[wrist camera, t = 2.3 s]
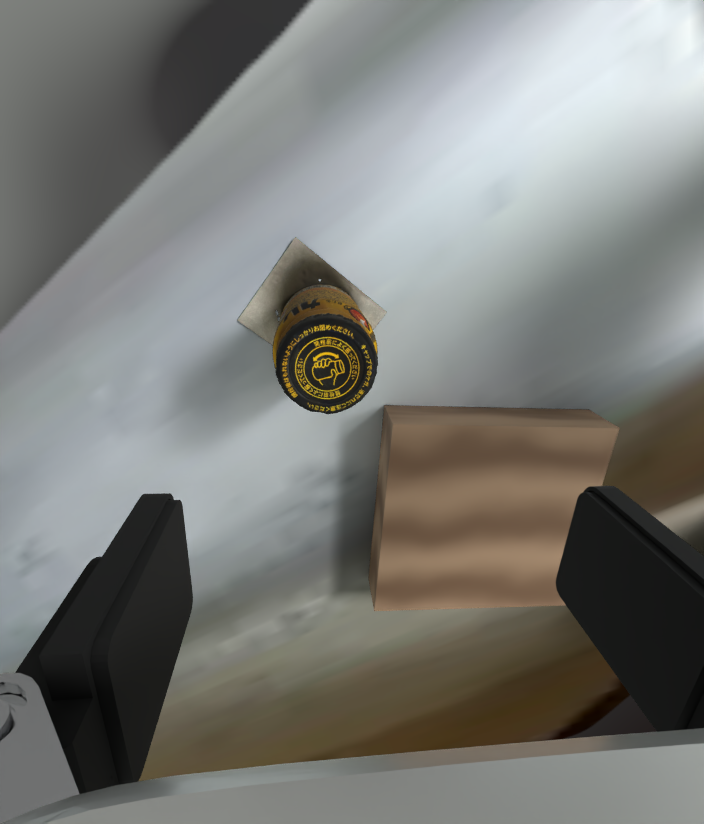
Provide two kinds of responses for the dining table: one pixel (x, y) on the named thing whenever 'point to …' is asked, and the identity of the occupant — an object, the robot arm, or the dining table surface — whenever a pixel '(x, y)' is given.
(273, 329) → the condiment
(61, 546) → the dining table surface
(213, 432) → the dining table surface
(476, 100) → the dining table surface
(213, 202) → the dining table surface
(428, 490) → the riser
